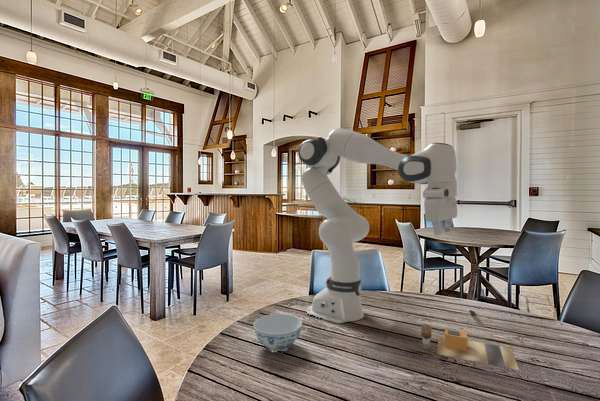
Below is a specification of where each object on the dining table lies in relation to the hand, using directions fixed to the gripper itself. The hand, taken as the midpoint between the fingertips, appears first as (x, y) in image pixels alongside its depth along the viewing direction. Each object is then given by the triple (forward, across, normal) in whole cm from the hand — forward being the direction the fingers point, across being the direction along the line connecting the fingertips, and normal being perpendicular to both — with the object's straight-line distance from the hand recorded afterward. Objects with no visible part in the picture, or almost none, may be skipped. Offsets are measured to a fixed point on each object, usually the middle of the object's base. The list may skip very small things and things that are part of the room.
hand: (442, 233), depth 107 cm
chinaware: (+34, +42, -36) cm, 65 cm away
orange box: (+33, +8, +6) cm, 35 cm away
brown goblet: (+34, +15, 0) cm, 37 cm away
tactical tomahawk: (+35, -20, +7) cm, 41 cm away
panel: (+35, +6, +11) cm, 37 cm away
